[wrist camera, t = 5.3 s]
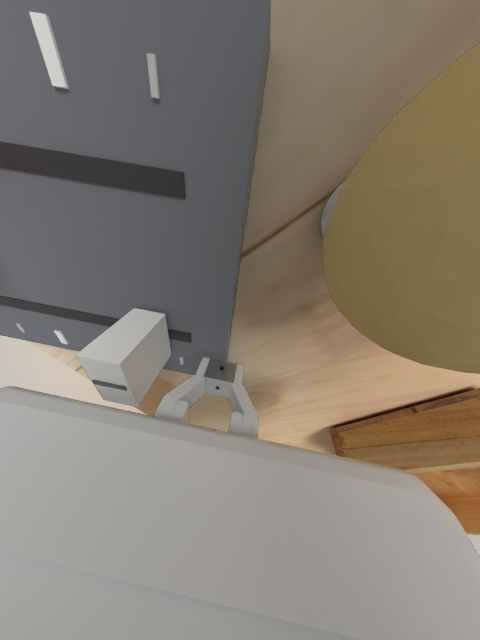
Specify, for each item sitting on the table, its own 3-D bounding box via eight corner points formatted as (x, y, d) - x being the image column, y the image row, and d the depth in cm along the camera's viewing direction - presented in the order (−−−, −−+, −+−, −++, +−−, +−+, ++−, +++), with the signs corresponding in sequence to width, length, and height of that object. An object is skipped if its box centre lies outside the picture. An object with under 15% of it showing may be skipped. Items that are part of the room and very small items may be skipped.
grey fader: (165, 313, 13) (118, 366, 9) (171, 354, 15) (136, 408, 11) (134, 307, 13) (73, 356, 9) (145, 349, 15) (102, 401, 11)
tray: (551, 482, 24) (617, 548, 20) (425, 489, 32) (451, 537, 28) (476, 378, 16) (564, 454, 11) (327, 422, 23) (341, 477, 19)
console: (270, 45, 7) (270, -8, 5) (226, 364, 19) (221, 381, 17) (-260, -30, 8) (-415, -98, 6) (19, 323, 19) (-5, 335, 18)
